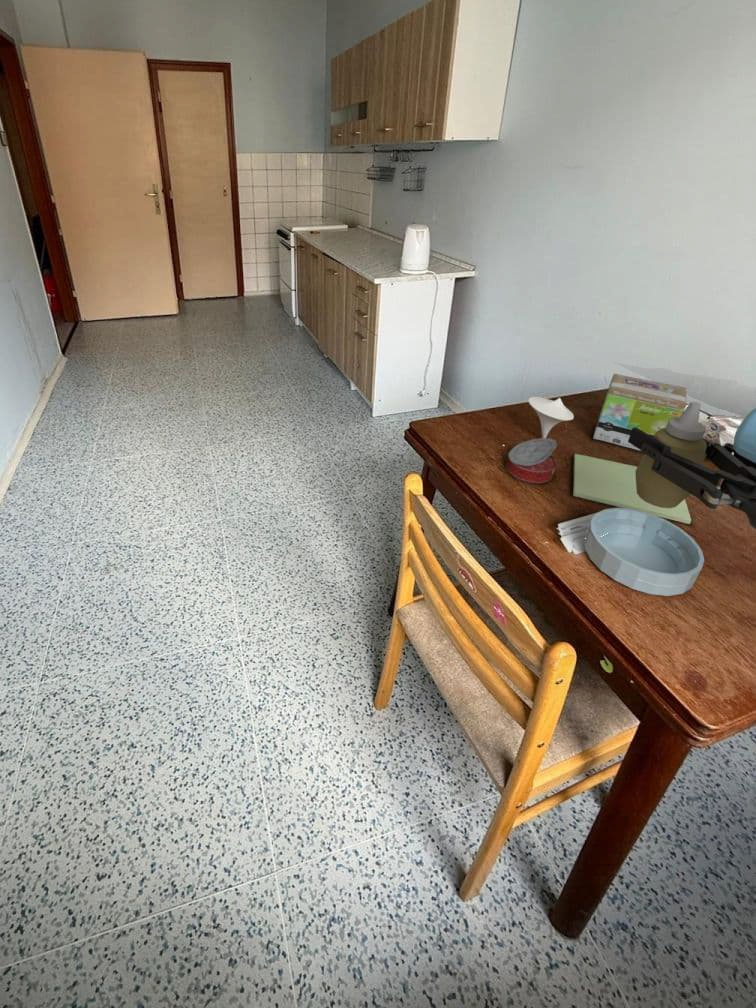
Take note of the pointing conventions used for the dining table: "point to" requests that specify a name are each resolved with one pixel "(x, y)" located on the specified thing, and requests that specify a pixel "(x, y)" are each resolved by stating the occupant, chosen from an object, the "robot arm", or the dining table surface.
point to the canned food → (532, 460)
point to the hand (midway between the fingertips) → (650, 431)
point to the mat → (617, 487)
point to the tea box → (637, 408)
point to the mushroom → (550, 412)
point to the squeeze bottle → (683, 442)
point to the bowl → (643, 551)
